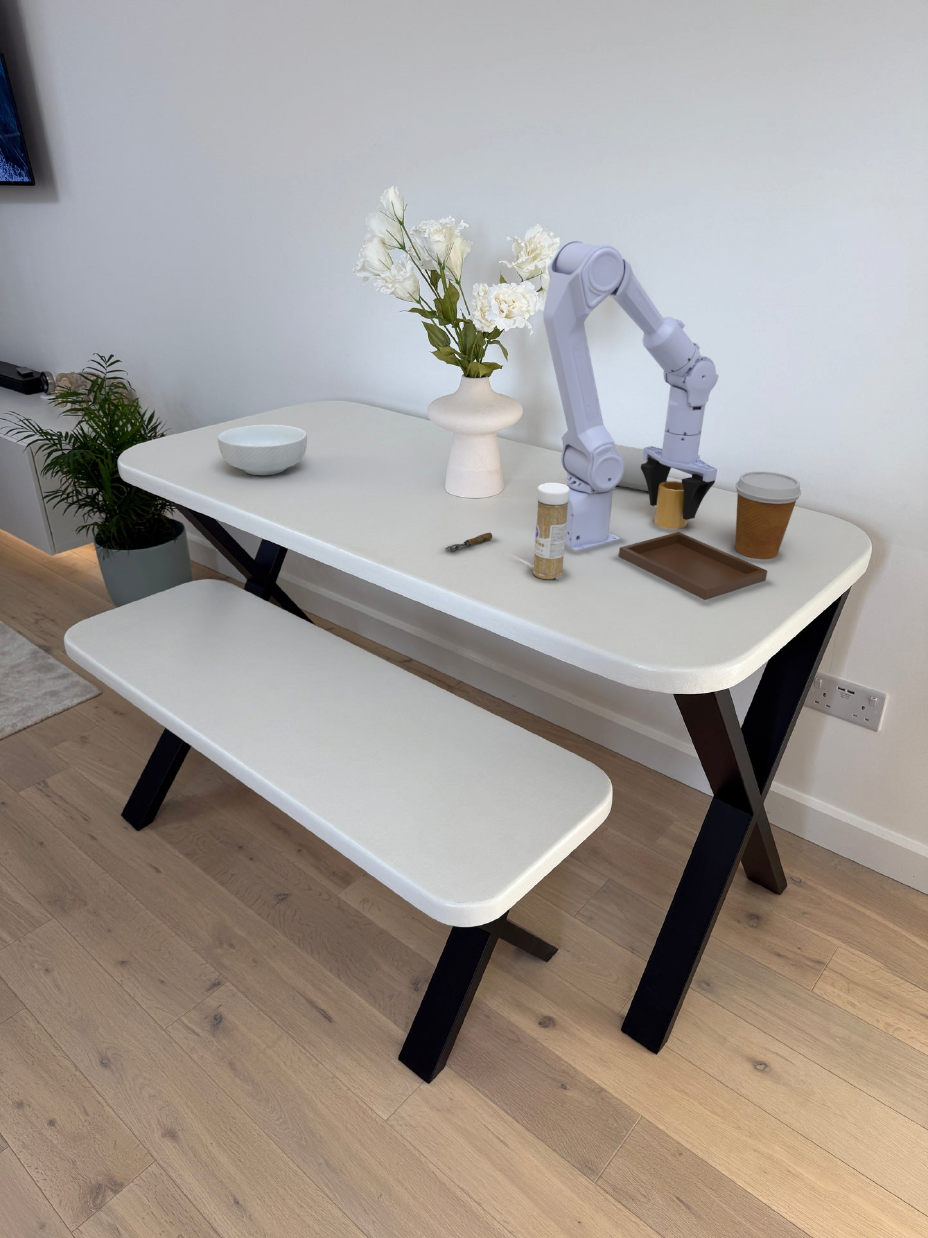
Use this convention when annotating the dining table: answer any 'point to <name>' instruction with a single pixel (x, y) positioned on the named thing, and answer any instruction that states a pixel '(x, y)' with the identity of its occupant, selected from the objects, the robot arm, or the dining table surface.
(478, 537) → the can opener
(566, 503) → the sprinkles bottle
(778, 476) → the disposable coffee cup
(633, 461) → the can
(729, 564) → the tray
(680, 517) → the cup
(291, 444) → the cereal bowl
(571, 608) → the dining table surface
